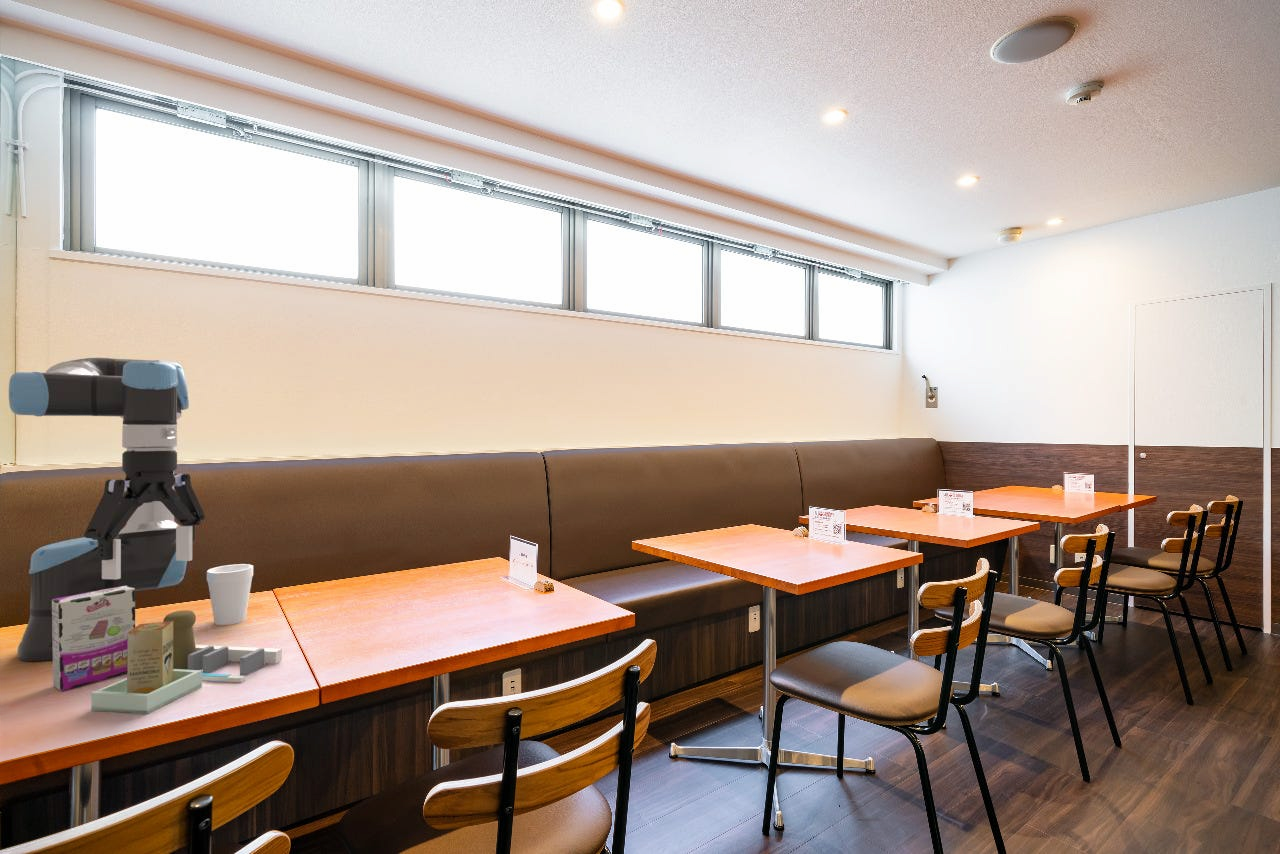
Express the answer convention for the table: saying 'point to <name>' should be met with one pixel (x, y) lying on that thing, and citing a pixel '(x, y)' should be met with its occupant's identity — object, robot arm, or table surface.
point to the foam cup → (230, 592)
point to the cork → (182, 637)
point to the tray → (123, 702)
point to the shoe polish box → (149, 657)
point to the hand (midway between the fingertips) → (150, 569)
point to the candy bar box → (91, 636)
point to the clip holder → (220, 655)
